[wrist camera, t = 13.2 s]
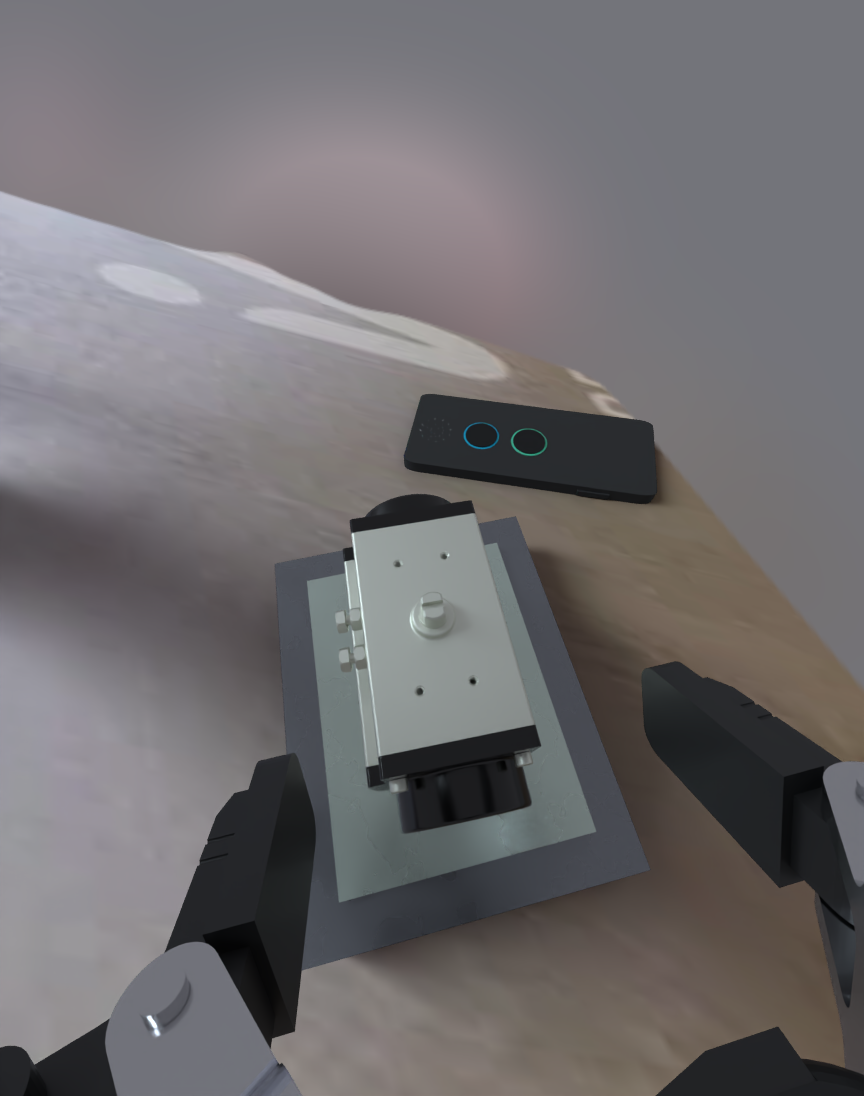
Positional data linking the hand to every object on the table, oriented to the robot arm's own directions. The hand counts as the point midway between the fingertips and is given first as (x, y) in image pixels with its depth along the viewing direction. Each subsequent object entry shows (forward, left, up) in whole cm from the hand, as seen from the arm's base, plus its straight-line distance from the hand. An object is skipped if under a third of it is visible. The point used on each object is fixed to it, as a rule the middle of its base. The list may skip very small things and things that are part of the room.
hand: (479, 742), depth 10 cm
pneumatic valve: (-4, -1, -14) cm, 15 cm away
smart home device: (-23, +12, -19) cm, 33 cm away
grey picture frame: (-4, 0, -19) cm, 19 cm away
